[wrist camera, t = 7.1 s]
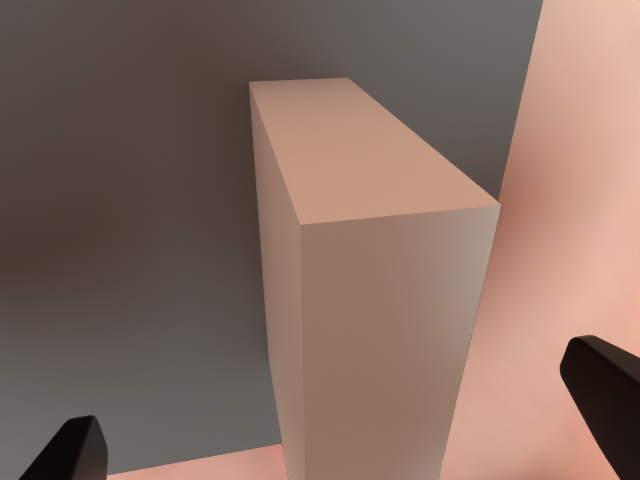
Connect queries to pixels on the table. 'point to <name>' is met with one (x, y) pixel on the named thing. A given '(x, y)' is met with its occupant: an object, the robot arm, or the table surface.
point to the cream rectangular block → (363, 280)
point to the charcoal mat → (192, 195)
